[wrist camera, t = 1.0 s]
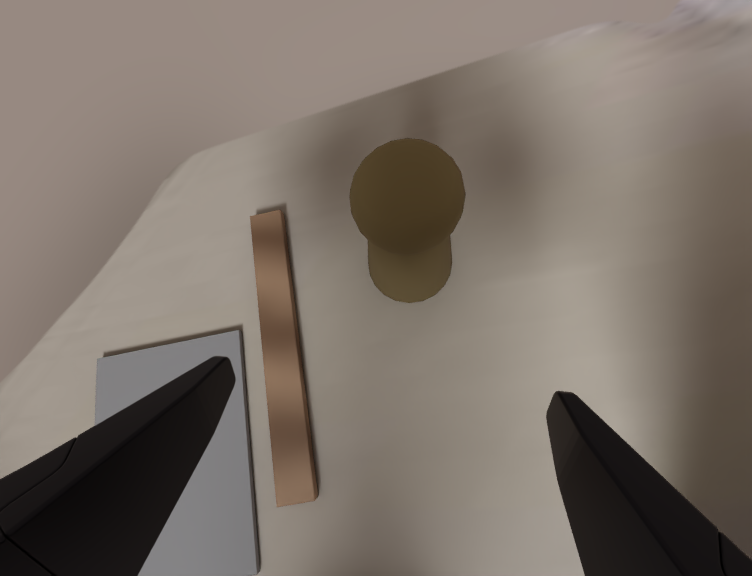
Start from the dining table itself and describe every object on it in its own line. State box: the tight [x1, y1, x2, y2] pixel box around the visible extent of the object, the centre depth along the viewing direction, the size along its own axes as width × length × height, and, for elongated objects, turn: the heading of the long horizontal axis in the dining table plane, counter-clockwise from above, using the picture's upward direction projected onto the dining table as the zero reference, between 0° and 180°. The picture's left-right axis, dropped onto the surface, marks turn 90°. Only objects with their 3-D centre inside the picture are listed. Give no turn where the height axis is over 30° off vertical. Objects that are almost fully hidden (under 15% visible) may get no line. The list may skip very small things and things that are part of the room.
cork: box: [350, 138, 465, 303], centre depth 19 cm, size 6×6×11 cm
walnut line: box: [250, 210, 318, 507], centre depth 23 cm, size 20×2×1 cm, turn 11°
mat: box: [95, 330, 260, 576], centre depth 23 cm, size 15×11×1 cm
